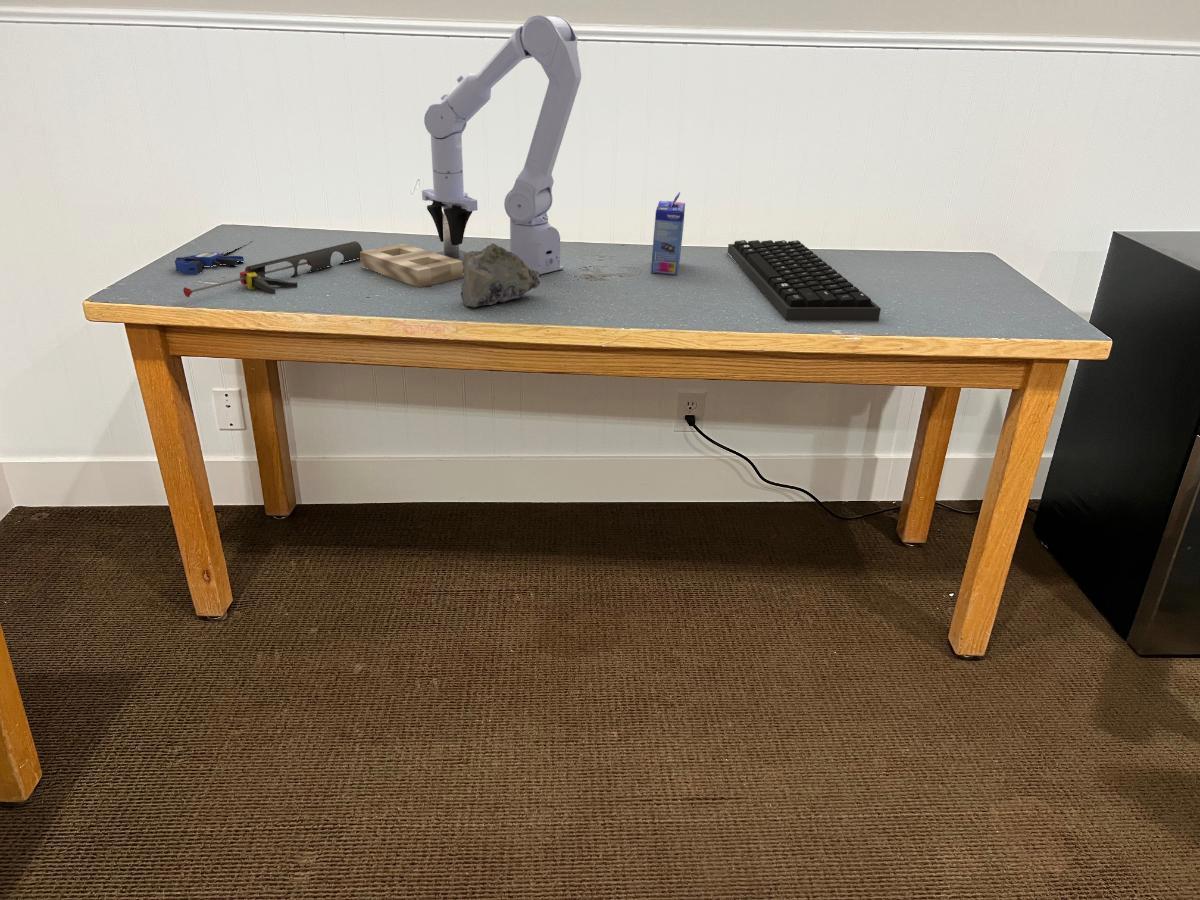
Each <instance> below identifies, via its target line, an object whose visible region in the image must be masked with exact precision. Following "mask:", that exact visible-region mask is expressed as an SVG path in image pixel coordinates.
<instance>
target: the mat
mask: <svg viewBox="0 0 1200 900" xmlns="http://www.w3.org/2000/svg"><path fill="white" fill-rule="evenodd" d="M465 252H466V251H465V250H462V249H459V256H460V257H459V258H458V259H457V260H460V261H462V262H463V257H464V254H465ZM436 253H437V254H440V255H443V256H444V250H443V251H438V252H436ZM463 265H464V264H463Z"/></svg>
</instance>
